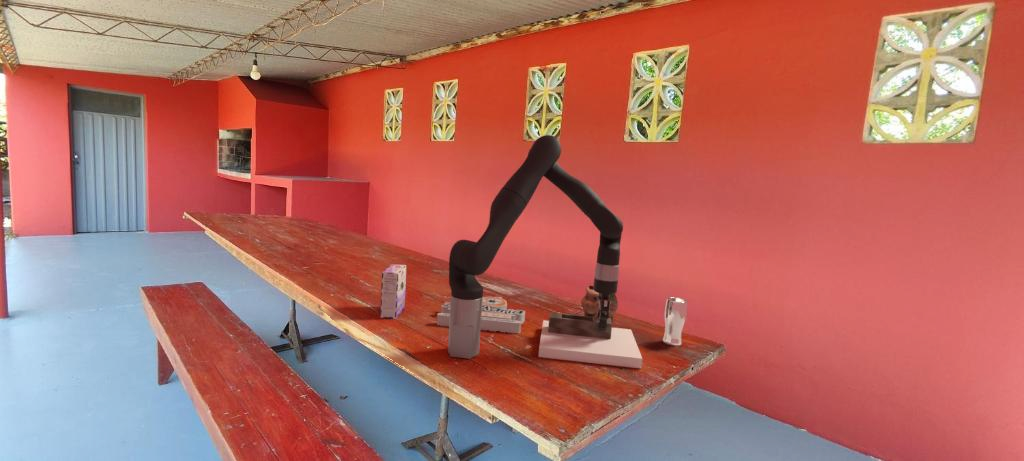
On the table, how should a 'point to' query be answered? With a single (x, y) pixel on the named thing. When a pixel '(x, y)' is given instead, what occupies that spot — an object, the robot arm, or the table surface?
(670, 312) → the beer glass
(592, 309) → the decorative planter
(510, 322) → the sign
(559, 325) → the frame
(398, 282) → the candy box
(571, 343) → the wall plate
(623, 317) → the table surface
